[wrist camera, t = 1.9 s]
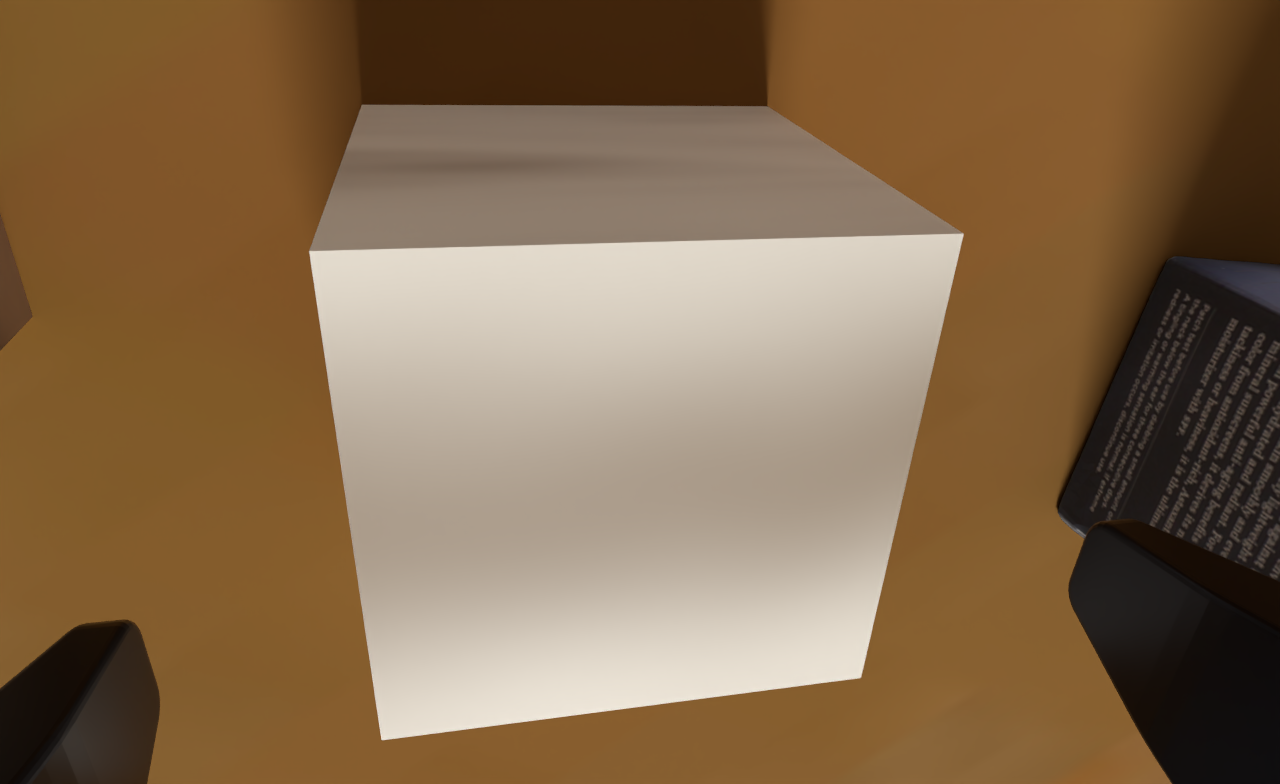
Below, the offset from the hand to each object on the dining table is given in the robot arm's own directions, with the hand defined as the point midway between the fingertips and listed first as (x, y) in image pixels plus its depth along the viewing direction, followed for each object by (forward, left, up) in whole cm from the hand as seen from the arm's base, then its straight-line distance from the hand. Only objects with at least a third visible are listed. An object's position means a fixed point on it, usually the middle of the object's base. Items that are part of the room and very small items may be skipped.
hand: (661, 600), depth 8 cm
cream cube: (0, 0, -7) cm, 7 cm away
